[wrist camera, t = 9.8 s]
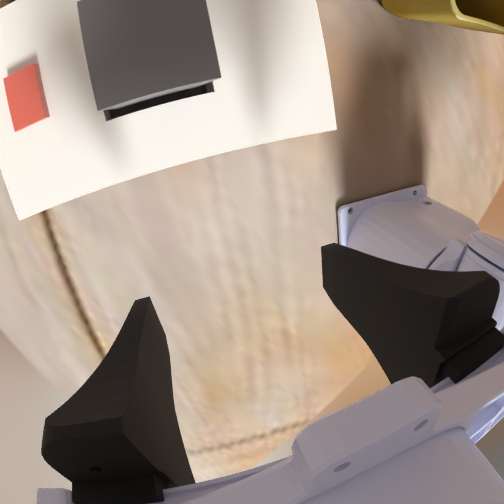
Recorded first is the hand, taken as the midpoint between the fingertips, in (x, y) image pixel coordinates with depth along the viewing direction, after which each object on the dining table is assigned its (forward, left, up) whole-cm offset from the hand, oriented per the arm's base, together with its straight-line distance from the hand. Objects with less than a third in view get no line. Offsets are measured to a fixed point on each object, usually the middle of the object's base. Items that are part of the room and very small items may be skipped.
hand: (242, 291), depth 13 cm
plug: (+1, -10, -10) cm, 14 cm away
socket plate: (+1, -10, -10) cm, 15 cm away
